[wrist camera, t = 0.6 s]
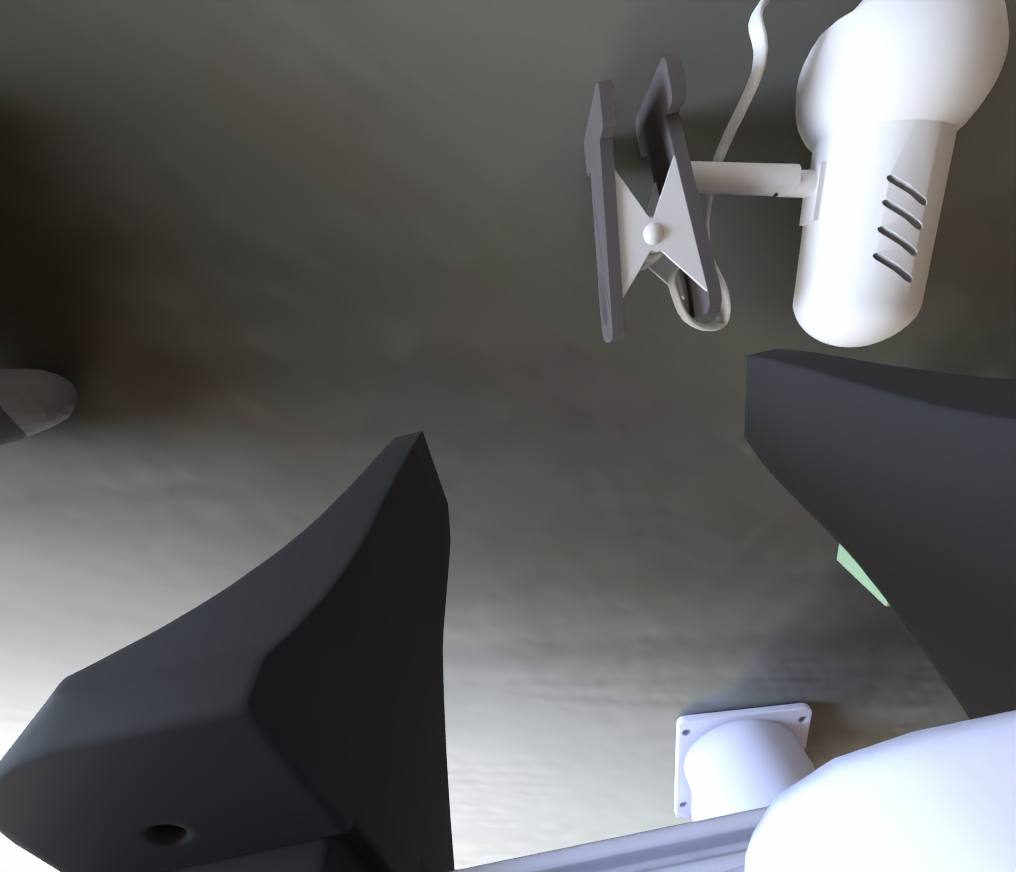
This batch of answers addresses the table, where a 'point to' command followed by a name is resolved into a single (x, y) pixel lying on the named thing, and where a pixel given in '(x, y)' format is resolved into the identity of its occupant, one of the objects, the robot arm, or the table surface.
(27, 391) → the gaming controller
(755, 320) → the table surface
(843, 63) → the clip-on lamp
